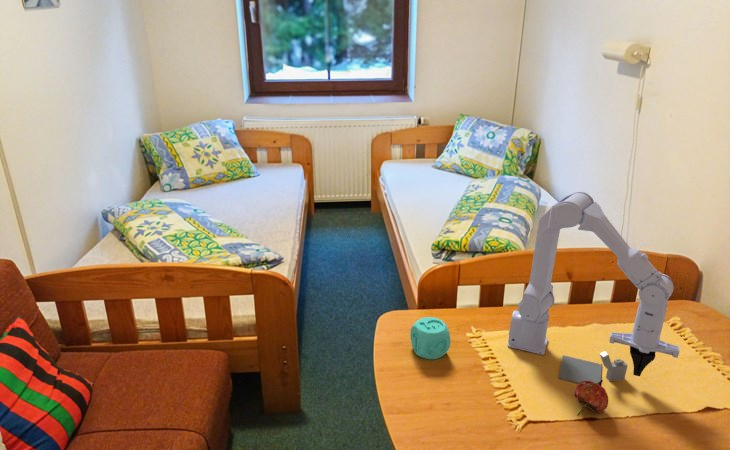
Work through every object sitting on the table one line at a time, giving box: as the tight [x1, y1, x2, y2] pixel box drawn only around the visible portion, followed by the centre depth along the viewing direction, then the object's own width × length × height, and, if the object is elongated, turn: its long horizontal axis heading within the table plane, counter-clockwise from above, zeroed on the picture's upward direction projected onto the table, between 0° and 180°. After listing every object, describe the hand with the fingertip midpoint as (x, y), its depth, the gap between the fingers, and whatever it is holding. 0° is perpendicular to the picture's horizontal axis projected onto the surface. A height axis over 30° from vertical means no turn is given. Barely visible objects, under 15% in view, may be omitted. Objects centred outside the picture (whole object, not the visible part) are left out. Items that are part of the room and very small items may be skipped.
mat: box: [558, 354, 603, 384], centre depth 139 cm, size 10×10×1 cm
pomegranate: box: [573, 379, 609, 417], centre depth 125 cm, size 7×7×10 cm
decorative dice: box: [409, 316, 451, 360], centre depth 145 cm, size 8×8×8 cm
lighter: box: [599, 350, 628, 382], centre depth 135 cm, size 7×2×8 cm, turn 100°
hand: (636, 373), depth 133 cm, fingers closed
